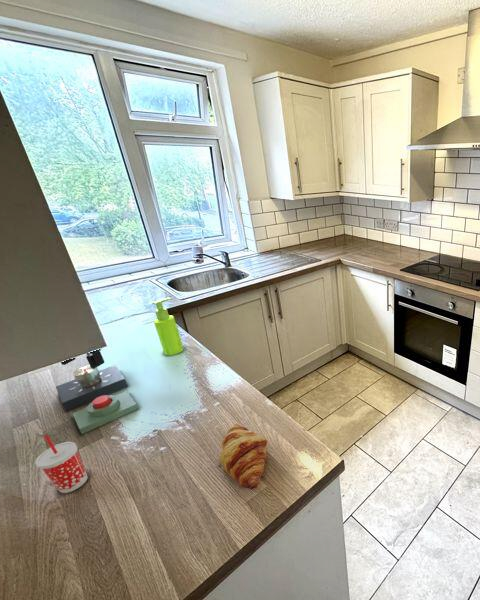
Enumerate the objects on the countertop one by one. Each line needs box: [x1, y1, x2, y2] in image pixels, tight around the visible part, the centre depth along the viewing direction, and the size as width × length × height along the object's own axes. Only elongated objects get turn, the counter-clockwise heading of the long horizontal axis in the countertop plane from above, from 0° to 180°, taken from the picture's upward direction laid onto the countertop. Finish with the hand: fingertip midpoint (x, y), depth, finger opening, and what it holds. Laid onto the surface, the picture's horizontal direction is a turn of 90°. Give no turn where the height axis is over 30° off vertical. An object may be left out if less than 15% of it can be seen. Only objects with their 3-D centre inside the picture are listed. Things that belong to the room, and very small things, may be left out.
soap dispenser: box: [152, 297, 184, 356], centre depth 116 cm, size 6×7×20 cm
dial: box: [72, 364, 102, 388], centre depth 97 cm, size 5×5×5 cm
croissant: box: [218, 423, 268, 490], centre depth 76 cm, size 21×10×8 cm, turn 36°
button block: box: [72, 390, 139, 435], centre depth 90 cm, size 12×9×4 cm
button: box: [91, 394, 111, 409], centre depth 89 cm, size 4×4×2 cm
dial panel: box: [55, 364, 129, 412], centre depth 98 cm, size 14×11×3 cm
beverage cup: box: [35, 434, 88, 494], centre depth 68 cm, size 6×6×14 cm
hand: (83, 363), depth 91 cm, fingers open, 9 cm apart
